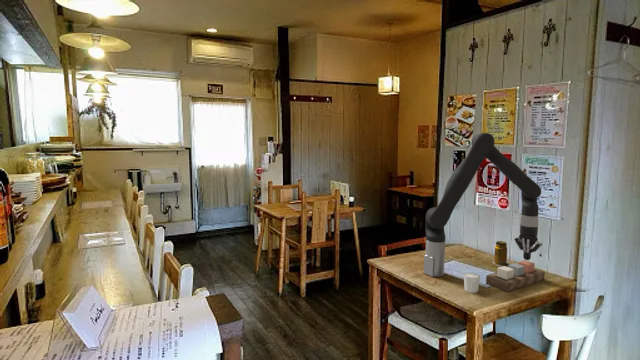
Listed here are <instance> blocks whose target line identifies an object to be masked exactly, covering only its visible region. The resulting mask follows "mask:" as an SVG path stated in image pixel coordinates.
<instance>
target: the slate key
mask: <svg viewBox="0 0 640 360" xmlns="http://www.w3.org/2000/svg"><path fill="white" fill-rule="evenodd" d="M507 267H509V268H512V269H514V275H515V276H521V275H524V268H525V266H522V265H519V264H518V263H516V262H514V263H510V265H508V266H507Z"/></svg>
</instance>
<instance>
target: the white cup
mask: <svg viewBox="0 0 640 360" xmlns="http://www.w3.org/2000/svg"><path fill="white" fill-rule="evenodd" d="M480 279H481V276H480V274H477V273H474V272H465V273H463V283H464V284H463V286H464V291H465V292H468V293H470V294H471V293H472V294H473V293H474V294H475V293H478V292H479V288H480V287H479V286H480V281H481V280H480Z"/></svg>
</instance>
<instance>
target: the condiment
mask: <svg viewBox="0 0 640 360" xmlns="http://www.w3.org/2000/svg"><path fill="white" fill-rule="evenodd" d="M507 245H508V243H507V242H506V241H502V240H501V241H500V240H497V241H496V242H495V246H494V258H493V261H492V260H491V261H490V262H492V263H493V264H494V265H495V266H496V267H497V266H498V267H502V266H506V267H508V265H510V264H511V263H510V262H508V261H507V258H508V246H507Z"/></svg>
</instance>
